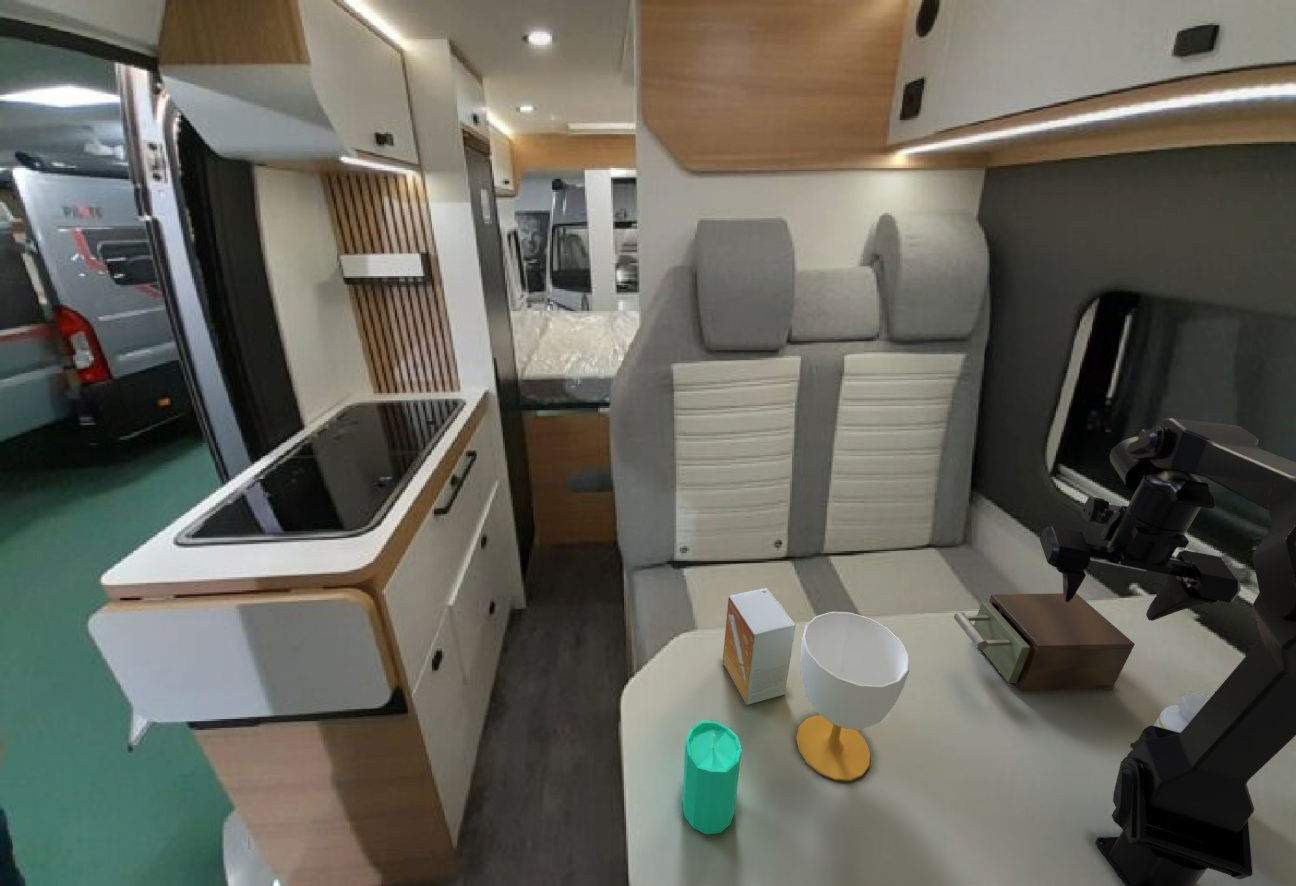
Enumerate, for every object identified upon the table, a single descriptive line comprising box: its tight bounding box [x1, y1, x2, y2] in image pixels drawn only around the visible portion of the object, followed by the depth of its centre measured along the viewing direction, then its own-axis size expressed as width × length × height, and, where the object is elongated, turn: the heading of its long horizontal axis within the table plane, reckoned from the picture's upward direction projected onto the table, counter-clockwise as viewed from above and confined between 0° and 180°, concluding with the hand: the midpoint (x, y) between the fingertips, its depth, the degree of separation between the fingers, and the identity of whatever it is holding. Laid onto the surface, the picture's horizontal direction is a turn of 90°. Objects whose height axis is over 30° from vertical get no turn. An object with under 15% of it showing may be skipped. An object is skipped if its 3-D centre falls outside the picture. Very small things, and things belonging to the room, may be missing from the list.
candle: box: [681, 720, 743, 835], centre depth 59 cm, size 6×6×12 cm
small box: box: [722, 587, 797, 706], centre depth 76 cm, size 8×6×13 cm
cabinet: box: [988, 592, 1136, 692], centre depth 80 cm, size 14×11×9 cm
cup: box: [795, 611, 910, 782], centre depth 65 cm, size 12×12×17 cm
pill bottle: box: [1153, 692, 1212, 733], centre depth 63 cm, size 6×6×12 cm
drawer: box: [953, 601, 1033, 684], centre depth 80 cm, size 18×9×7 cm, turn 92°
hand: (1106, 608), depth 72 cm, fingers open, 9 cm apart
